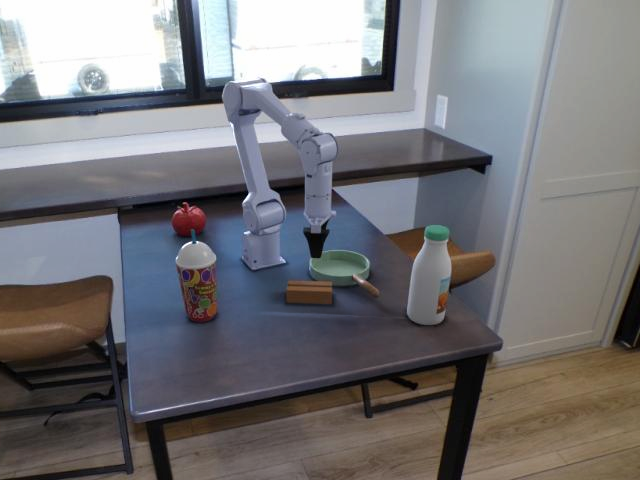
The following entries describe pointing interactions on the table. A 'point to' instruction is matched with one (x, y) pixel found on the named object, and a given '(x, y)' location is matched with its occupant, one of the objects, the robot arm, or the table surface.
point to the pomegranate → (188, 220)
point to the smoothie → (198, 279)
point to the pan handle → (366, 285)
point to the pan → (339, 267)
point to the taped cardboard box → (309, 292)
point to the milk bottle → (430, 278)
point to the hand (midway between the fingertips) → (317, 250)
